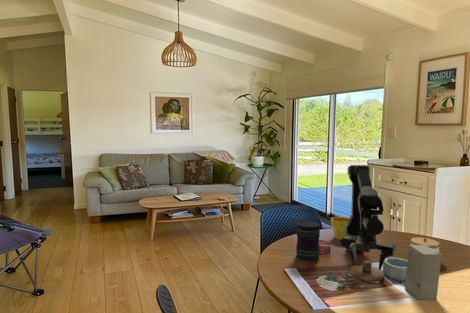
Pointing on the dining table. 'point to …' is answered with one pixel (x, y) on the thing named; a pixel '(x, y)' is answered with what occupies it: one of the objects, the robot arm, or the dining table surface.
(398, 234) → the dining table surface
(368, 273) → the lid
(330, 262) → the dining table surface
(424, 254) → the skincare box
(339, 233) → the plant pot
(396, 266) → the bowl
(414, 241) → the lidded jar
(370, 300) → the dining table surface
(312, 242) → the storage jar
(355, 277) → the grey flat square slab
